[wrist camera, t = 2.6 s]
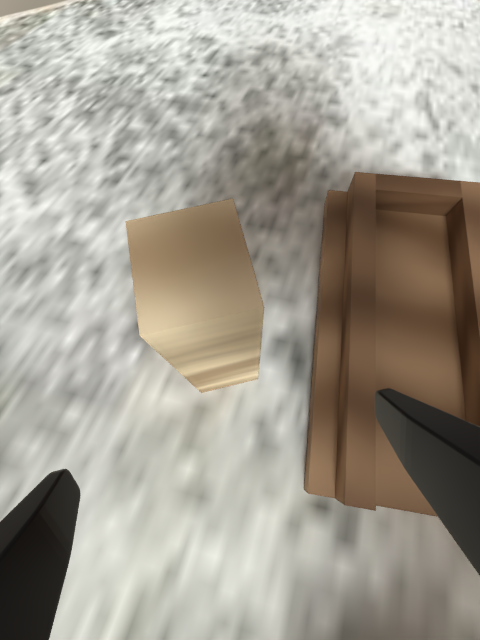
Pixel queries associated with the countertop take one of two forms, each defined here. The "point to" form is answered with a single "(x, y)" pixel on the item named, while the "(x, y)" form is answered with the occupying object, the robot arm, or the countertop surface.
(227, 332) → the tan wooden block
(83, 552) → the countertop surface
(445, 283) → the groove sill
